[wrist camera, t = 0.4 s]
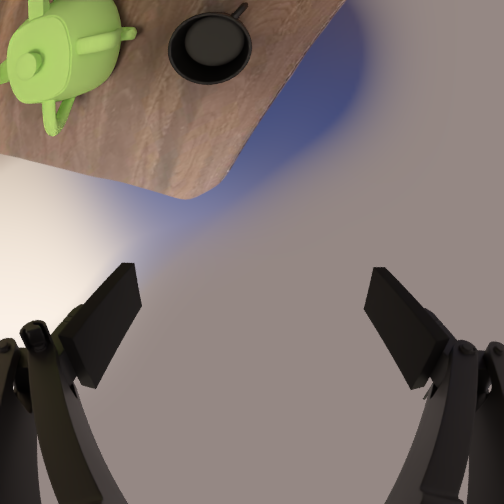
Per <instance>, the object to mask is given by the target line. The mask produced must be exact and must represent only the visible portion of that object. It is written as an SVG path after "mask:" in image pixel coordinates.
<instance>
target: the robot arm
mask: <svg viewBox="0 0 504 504" xmlns="http://www.w3.org/2000/svg"><path fill="white" fill-rule="evenodd" d="M141 307H142V304H141V299H140V294H139V288H138V283H137V277H136V271H135V264H134V263H121V265H120V266H119V267H118V268H117V269H116V270H115V271H114V272H113V273H112V274H111V275H110V276H109V277H108V278H107V279H106V280H105V281H104V282H103V283H102V285H101V286H100V287H99V288H98V289H97V290H96V291H95V292H94V293H93V295H91V297H90V298H89V299H88V300H87V301H86V302H85V303H84V304H81V305H79V306H77V307H76V308H74V309H73V310H72V311H71V312H70V313H69V314H68V315H67V317H66V318H65V319H64V320H63V322H61V324H60V325H59V326H58V327H57V328H56V329H55V331H54V332H53V333H52V334H51V335H50V333H49V331H48V328H47V326H46V323H45V322H44V321H41V320H36V321H31V322H29V323H27V324H26V325H24V326H23V328H22V329H21V330H20V336H21V338H22V340H23V342H24V344H25V346H26V348H18V346H17V344H16V342H15V340H14V339H12V338H6V339H2V340H1V341H0V504H41V499H40V491H39V481H38V467H37V435H38V440H39V444H40V448H41V452H42V456H43V459H44V463H45V466H46V470H47V472H48V476H49V479H50V482H51V485H52V487H53V490H54V493H55V495H56V498H57V500H58V503H59V504H128V503H127V501H126V500H125V498H124V496H123V495H122V493H121V491H120V490H119V488H118V486H117V484H116V482H115V480H114V479H113V477H112V475H111V473H110V471H109V469H108V467H107V465H106V463H105V461H104V459H103V457H102V455H101V452H100V450H99V448H98V446H97V443H96V441H95V439H94V436H93V434H92V432H91V429H90V426H89V424H88V421H87V418H86V416H85V413H84V410H83V408H82V404H81V401H80V398H79V395H78V392H77V389H76V386H75V384H74V382H73V381H74V379H75V378H76V376H77V377H78V379H79V381H80V383H81V385H83V386H87V387H90V388H95V389H96V388H97V386H98V384H99V382H100V380H101V378H102V376H103V374H104V372H105V371H106V369H107V367H108V365H109V363H110V361H111V359H112V358H113V356H114V354H115V352H116V350H117V348H118V347H119V345H120V343H121V341H122V339H123V338H124V336H125V334H126V332H127V330H128V329H129V327H130V325H131V324H132V322H133V320H134V318H135V317H136V315H137V313H138V312H139V310H140V308H141ZM364 310H365V312H366V314H367V315H368V317H369V318H370V320H371V322H372V323H373V325H374V327H375V328H376V330H377V331H378V333H379V335H380V336H381V338H382V340H383V341H384V343H385V345H386V347H387V348H388V350H389V351H390V353H391V355H392V357H393V358H394V360H395V362H396V364H397V365H398V367H399V369H400V371H401V372H402V374H403V376H404V378H405V380H406V382H407V384H408V385H409V387H410V389H411V390H413V389H416V388H420V387H424V386H425V384H426V382H427V381H428V378H429V377H431V379H432V381H433V383H432V385H431V387H430V388H429V390H428V392H427V393H426V395H425V396H424V398H423V399H426V397H427V396H428V397H427V401H426V404H425V408H424V411H423V414H422V418H421V421H420V424H419V427H418V430H417V432H416V435H415V438H414V441H413V443H412V446H411V448H410V451H409V453H408V456H407V458H406V461H405V463H404V465H403V468H402V470H401V472H400V474H399V476H398V478H397V481H396V483H395V485H394V487H393V489H392V491H391V493H390V494H389V496H388V498H387V500H386V502H385V504H464V503H463V501H462V500H460V499H458V494H459V490H460V487H461V484H462V480H463V477H464V473H465V469H466V465H467V461H468V456H469V481H468V495H467V504H504V345H503V344H501V343H499V342H490V343H489V345H488V347H487V349H486V351H480V350H479V351H478V350H477V349H476V348H475V346H474V345H473V344H471V343H470V342H467V341H465V340H458V341H457V340H456V339H455V337H454V336H453V335H452V334H451V333H450V331H449V330H448V329H447V328H446V327H445V326H444V325H443V323H442V322H441V321H440V320H439V319H438V318H437V317H436V316H435V315H434V314H433V313H432V312H431V311H429V310H427V309H426V308H423V307H422V306H421V305H420V303H419V302H418V301H417V300H416V299H415V298H414V297H413V296H412V295H411V294H410V293H409V292H408V291H407V290H406V288H405V287H404V286H403V285H402V284H401V283H400V282H399V281H398V280H397V279H396V278H395V277H394V276H393V275H392V274H391V273H390V272H389V271H388V270H387V269H386V268H385V267H374V268H373V272H372V277H371V281H370V286H369V290H368V294H367V298H366V302H365V306H364ZM491 384H492V389H491V391H490V393H489V390H488V388H489V386H490V385H491ZM13 386H14V390H13Z"/></svg>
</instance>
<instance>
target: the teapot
mask: <svg viewBox="0 0 504 504" xmlns="http://www.w3.org/2000/svg"><path fill="white" fill-rule="evenodd" d="M53 1H54V2H52V3H50V4H49V0H28V15H29V18H28V19H27V20H26V21H25V22H24V23H23V24H22V25H21V26H20V27H19V28H18V29H17V30H16V32H15V33H14V35H13V36H12V38H11V40H10V42H9V45H8V50H7V59H6V60H5V61H4V62H3V63H2V64H0V84H3V83H6V82H10V85H11V88H12V90H13V92H14V94H15V96H16V97H17V98H18V100H20V101H21V102H23V103H28V104H34V103H42V112H43V122H44V127H45V130H46V132H47V134H48V135H50V136H55V135H57V134H59V132H60V131H61V130H62V128H63V127H64V125H65V123H66V121H67V118H68V116H69V113H70V110H71V108H72V105H73V102H74V100H75V97H76V96H79V95H81V94H84V93H86V92H89V91H91V90H93V89H95V88H96V87H98V86H100V85H101V84H102V83H103V82H105V81H106V80H107V78H108V77H109V76H110V74H111V73H112V71H113V69H114V67H115V64H116V62H117V58H118V55H119V50H120V45H121V41H123V40H133V39H134V38H135V37H136V34H137V31H136V28H134V27H121V21H120V17H119V13H118V10H117V7H116V5H115V3H114V1H113V0H53ZM62 100H63V101H62ZM57 101H62V103H61V105H60V107H59V110H58V112H57V114H56V109H55V102H57Z"/></svg>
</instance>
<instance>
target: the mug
mask: <svg viewBox="0 0 504 504" xmlns="http://www.w3.org/2000/svg"><path fill="white" fill-rule="evenodd" d="M247 7H248V4H247V3H246V2H245V3H242V4H241V5H240V7H239V8H238V9H237V10H236V11H235V12H234V13H232V14H231V15H230V14H227V13H222V12H210V13H203V14H199V15H195V16H193V17H191V18H189V19H187V20H185V21H184V22H183V23H181V24H180V25H179V26H178V27H177V28H176V30H175V31H174V32H173V34H172V36H171V38H170V41H169V45H168V56H169V60H170V63H171V65H172V67H173V68H174V70H175V71H176V72H177V73H178V74H179V75H180V76H182V77H183V78H185V79H186V80H188V81H191V82H194V83H197V84H204V85H212V84H218V83H222V82H225V81H228V80H230V79H232V78H233V77H235V76H236V75H238V74H239V73H240V72H241V71H242V70H243V69H244V68H245V66H246V65H247V63H248V61H249V59H250V56H251V51H252V42H251V38H250V35H249V33H248V31H247V29H246V27H245V26H244V24H243V23H242V22H241V21H240V20H239V19H238V18H239V16H240V15H241V14H242V13H243V12H244V11H245V10H246V8H247Z"/></svg>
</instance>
